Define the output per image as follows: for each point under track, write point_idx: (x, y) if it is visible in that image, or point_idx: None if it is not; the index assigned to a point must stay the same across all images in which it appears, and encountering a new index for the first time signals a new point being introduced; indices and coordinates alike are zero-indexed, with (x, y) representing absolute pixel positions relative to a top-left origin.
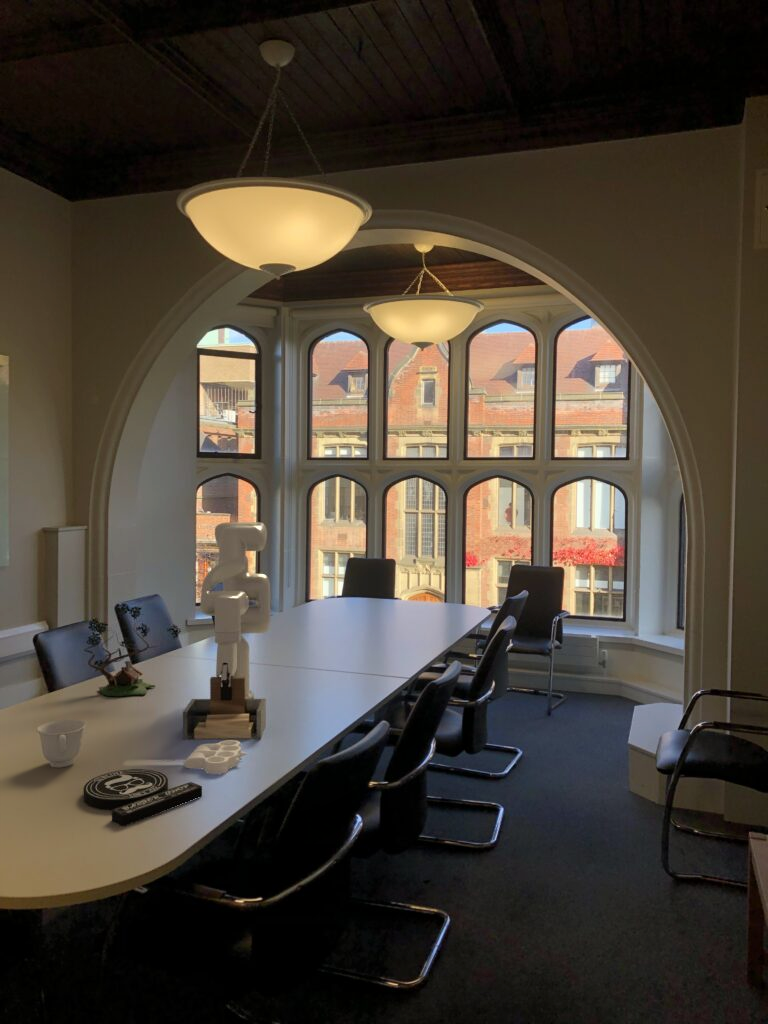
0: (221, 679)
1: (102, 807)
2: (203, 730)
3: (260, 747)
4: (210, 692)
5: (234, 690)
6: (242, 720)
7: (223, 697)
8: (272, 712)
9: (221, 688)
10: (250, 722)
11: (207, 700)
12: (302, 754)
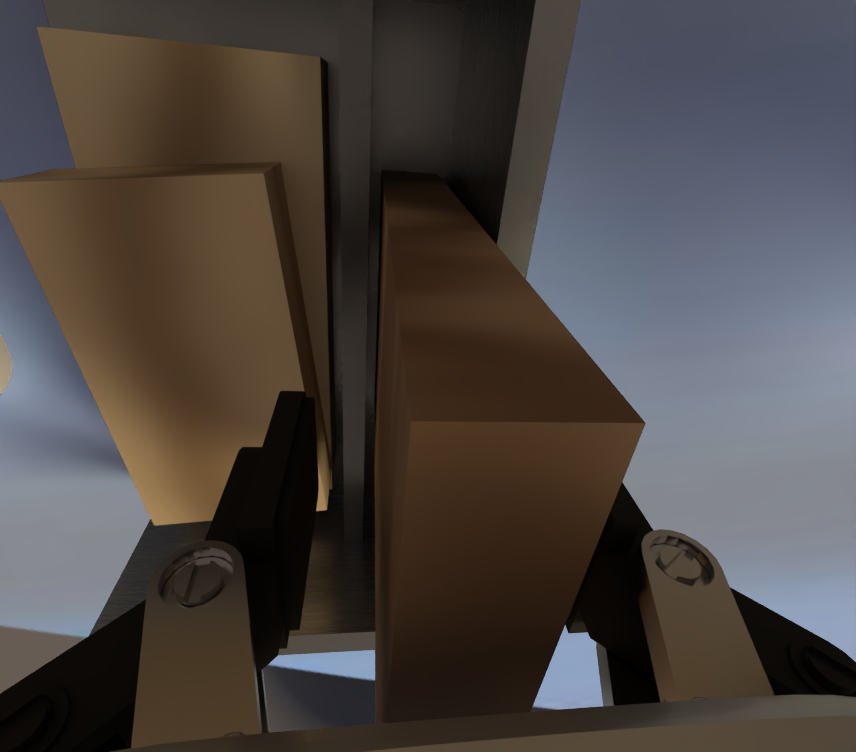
0: (139, 725)
1: None
2: (71, 139)
3: (115, 485)
4: (391, 266)
5: (379, 582)
6: (138, 491)
7: (240, 449)
8: (701, 481)
9: (246, 516)
10: None
11: (506, 163)
12: (63, 627)
